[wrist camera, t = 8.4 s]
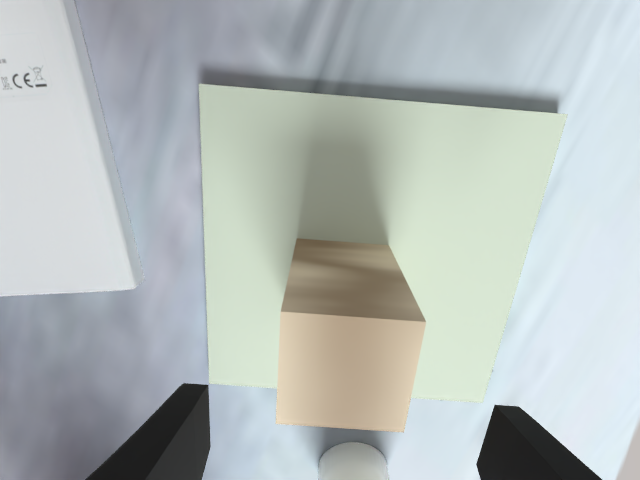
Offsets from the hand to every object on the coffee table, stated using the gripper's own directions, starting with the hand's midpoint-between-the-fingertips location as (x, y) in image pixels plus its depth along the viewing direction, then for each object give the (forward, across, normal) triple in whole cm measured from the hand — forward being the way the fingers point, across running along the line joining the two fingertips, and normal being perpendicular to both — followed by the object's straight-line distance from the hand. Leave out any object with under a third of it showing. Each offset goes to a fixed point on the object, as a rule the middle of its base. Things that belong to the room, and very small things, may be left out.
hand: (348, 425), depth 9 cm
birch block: (+8, 0, 0) cm, 8 cm away
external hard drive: (+9, +14, -5) cm, 17 cm away
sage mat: (+8, -1, -1) cm, 8 cm away
